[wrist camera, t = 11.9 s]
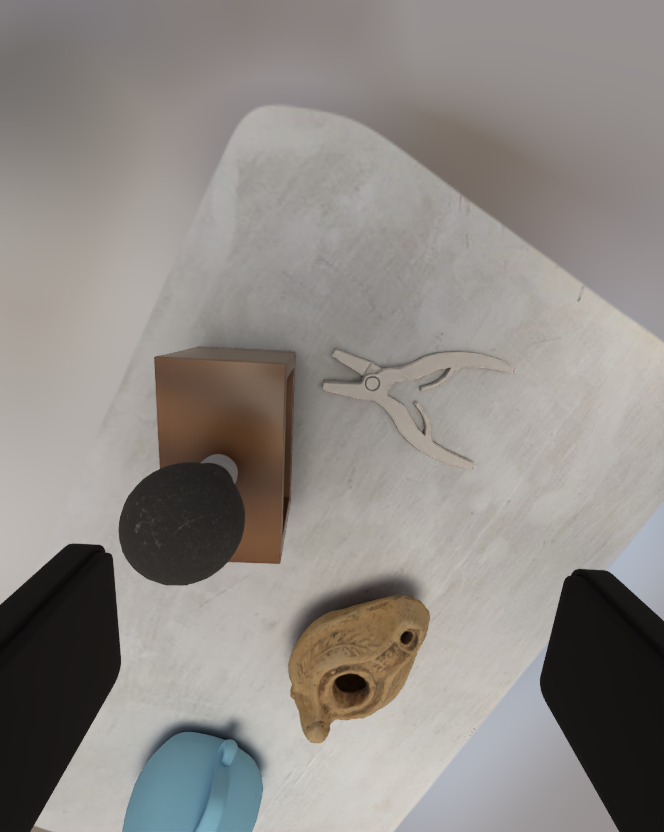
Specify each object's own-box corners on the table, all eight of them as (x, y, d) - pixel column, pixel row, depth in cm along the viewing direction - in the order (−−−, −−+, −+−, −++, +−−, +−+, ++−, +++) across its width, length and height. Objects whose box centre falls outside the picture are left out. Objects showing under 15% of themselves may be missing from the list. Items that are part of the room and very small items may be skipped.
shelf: (198, 346, 33) (153, 356, 24) (295, 351, 33) (285, 363, 24) (202, 501, 36) (164, 559, 27) (290, 505, 36) (280, 564, 28)
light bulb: (162, 475, 26) (66, 569, 16) (209, 408, 25) (136, 466, 15) (234, 521, 27) (183, 637, 17) (282, 459, 26) (257, 544, 16)
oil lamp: (444, 597, 39) (474, 666, 31) (359, 700, 42) (367, 786, 34) (352, 544, 38) (360, 603, 30) (270, 655, 40) (258, 735, 33)
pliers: (475, 475, 34) (310, 426, 33) (469, 468, 36) (310, 421, 35) (522, 366, 32) (346, 309, 31) (512, 364, 34) (345, 309, 32)
